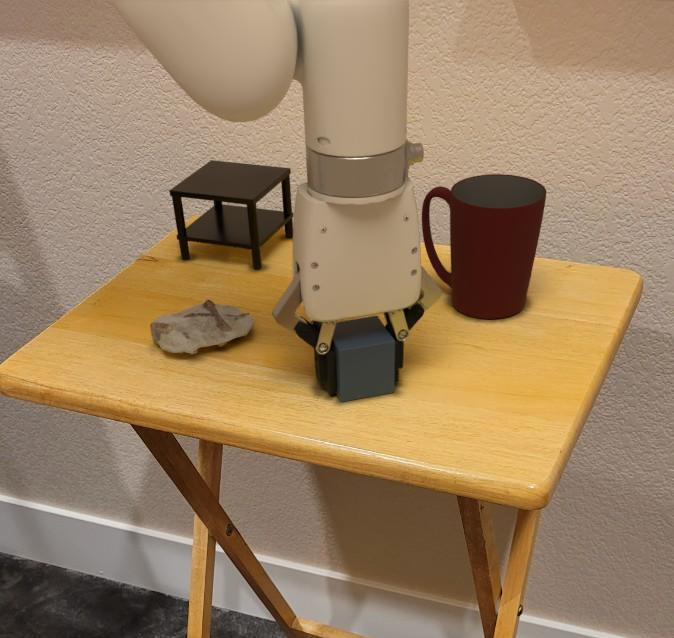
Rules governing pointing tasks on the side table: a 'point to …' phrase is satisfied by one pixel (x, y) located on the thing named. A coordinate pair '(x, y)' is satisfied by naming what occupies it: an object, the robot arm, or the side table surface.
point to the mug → (489, 241)
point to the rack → (233, 207)
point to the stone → (200, 327)
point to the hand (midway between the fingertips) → (359, 379)
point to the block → (363, 358)
